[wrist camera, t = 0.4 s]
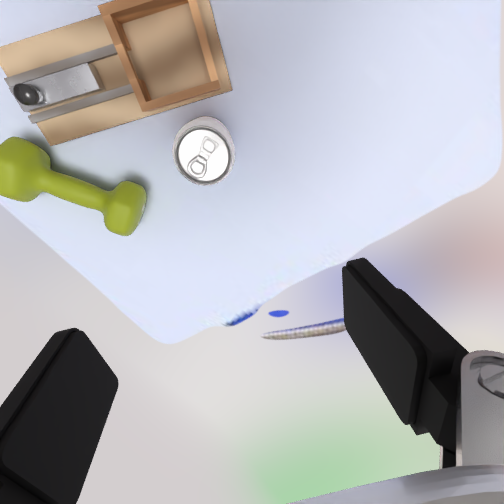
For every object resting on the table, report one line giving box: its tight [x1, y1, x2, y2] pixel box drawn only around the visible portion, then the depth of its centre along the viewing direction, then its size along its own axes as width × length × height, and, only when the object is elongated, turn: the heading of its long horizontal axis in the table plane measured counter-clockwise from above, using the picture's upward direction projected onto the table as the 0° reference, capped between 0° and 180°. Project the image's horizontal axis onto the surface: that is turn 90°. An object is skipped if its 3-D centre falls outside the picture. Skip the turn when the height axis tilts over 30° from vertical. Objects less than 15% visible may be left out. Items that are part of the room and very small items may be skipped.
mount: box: [0, 0, 232, 146], centre depth 29 cm, size 10×24×5 cm, turn 105°
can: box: [172, 116, 235, 186], centre depth 31 cm, size 6×6×12 cm
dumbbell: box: [0, 137, 147, 236], centre depth 34 cm, size 16×8×7 cm, turn 64°
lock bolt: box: [9, 63, 106, 112], centre depth 29 cm, size 2×9×3 cm, turn 105°
